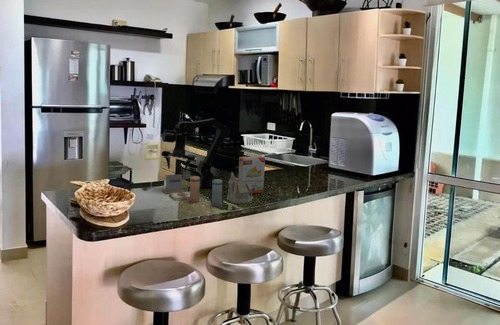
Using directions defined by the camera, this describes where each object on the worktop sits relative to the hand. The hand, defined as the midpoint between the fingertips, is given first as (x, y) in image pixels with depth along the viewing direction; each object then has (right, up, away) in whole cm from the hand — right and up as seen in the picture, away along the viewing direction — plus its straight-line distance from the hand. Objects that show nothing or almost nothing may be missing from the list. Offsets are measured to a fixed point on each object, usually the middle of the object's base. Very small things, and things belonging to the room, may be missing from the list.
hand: (176, 170), depth 260 cm
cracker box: (+43, -13, 0) cm, 44 cm away
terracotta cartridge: (+13, -16, -24) cm, 32 cm away
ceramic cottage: (+37, -16, -16) cm, 44 cm away
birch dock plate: (+6, -14, -17) cm, 23 cm away
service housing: (-1, -12, -6) cm, 13 cm away
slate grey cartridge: (+25, -17, -30) cm, 43 cm away
